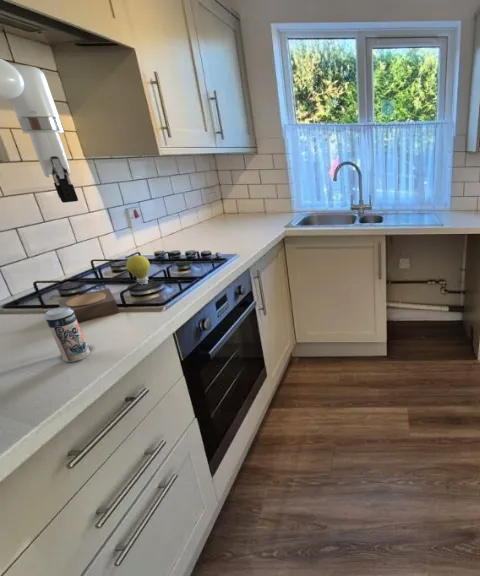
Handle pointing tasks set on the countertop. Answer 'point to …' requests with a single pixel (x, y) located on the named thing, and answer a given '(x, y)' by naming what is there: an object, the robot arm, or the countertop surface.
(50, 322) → the beer can
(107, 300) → the block
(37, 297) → the countertop surface
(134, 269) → the light bulb
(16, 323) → the countertop surface
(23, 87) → the robot arm
